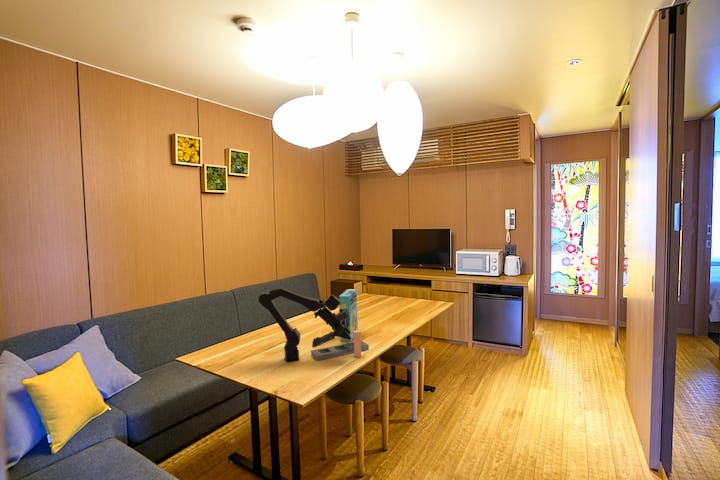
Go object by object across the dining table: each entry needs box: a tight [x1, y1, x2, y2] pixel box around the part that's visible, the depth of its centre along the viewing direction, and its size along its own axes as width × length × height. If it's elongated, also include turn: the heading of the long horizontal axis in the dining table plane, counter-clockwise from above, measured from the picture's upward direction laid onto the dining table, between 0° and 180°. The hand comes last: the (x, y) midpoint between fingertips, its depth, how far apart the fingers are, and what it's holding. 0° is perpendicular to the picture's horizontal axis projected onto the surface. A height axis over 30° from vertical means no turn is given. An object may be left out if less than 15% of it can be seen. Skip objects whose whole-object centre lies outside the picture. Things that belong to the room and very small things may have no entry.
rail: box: [310, 340, 370, 361], centre depth 204 cm, size 30×9×2 cm, turn 117°
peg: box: [353, 329, 362, 358], centre depth 199 cm, size 4×4×13 cm
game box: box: [338, 288, 359, 343], centre depth 230 cm, size 20×6×27 cm, turn 168°
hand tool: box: [312, 331, 336, 348], centre depth 222 cm, size 19×4×5 cm, turn 145°
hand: (350, 336), depth 198 cm, fingers open, 9 cm apart
